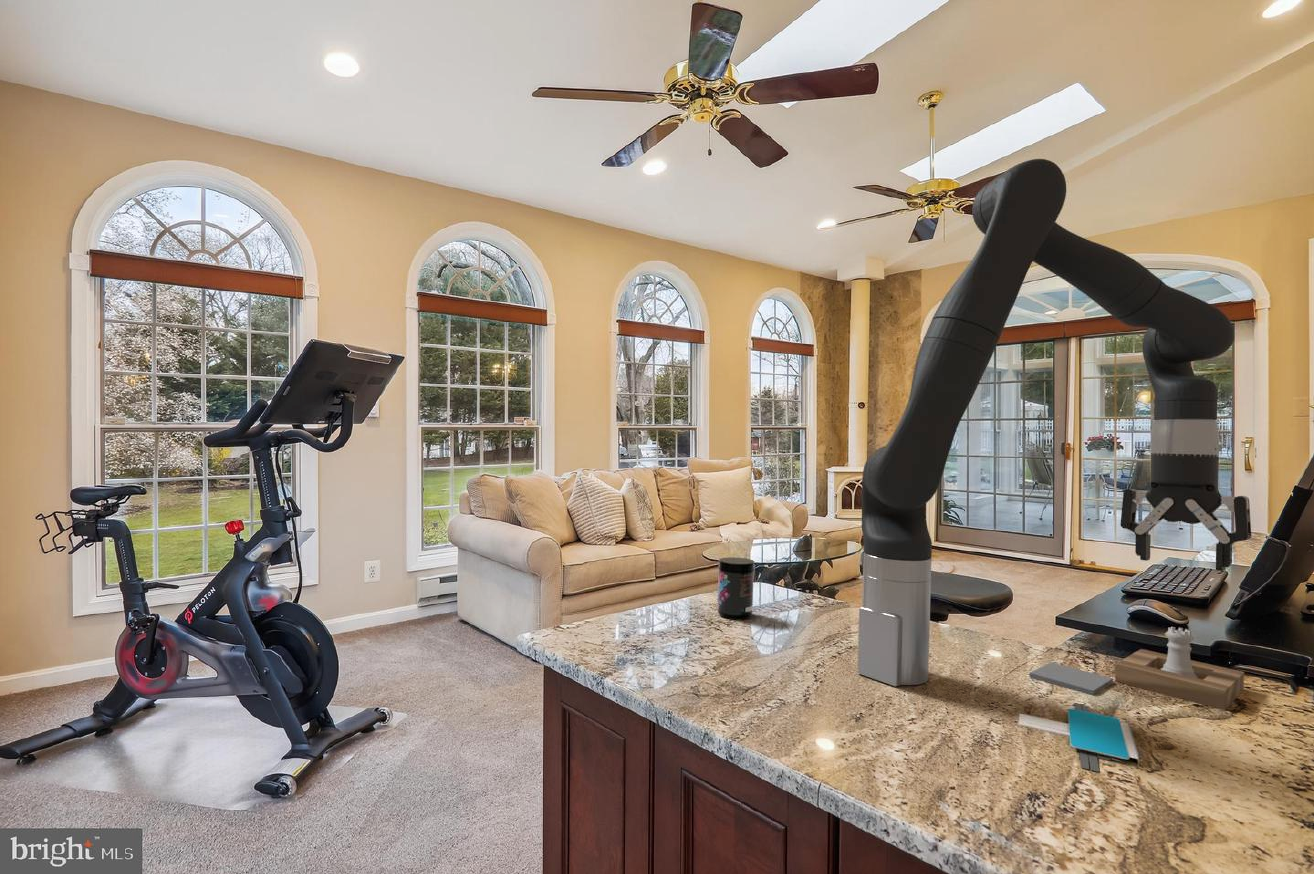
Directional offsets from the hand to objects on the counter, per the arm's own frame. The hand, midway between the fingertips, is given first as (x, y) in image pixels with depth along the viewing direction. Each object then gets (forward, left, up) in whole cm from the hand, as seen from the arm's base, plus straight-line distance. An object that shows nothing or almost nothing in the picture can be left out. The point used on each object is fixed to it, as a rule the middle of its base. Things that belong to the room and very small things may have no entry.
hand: (1181, 564), depth 91 cm
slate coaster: (-11, +10, -17) cm, 23 cm away
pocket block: (0, 0, -17) cm, 17 cm away
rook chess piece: (0, 0, -18) cm, 18 cm away
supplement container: (-28, +61, -18) cm, 69 cm away
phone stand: (-30, +3, -18) cm, 35 cm away
